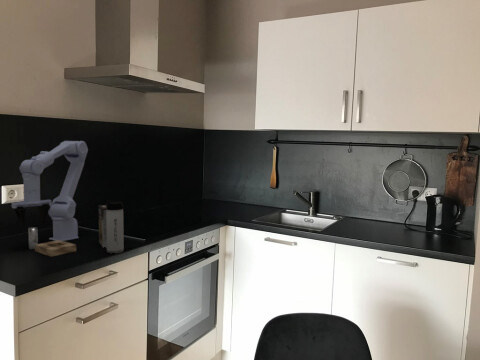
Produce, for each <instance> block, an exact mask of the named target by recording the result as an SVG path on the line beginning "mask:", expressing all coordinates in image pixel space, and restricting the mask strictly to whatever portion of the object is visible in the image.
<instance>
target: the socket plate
mask: <svg viewBox="0 0 480 360" xmlns="http://www.w3.org/2000/svg"><path fill="white" fill-rule="evenodd" d="M34 252H36V253H39V254H42V255H45V256H48V257H51V258H52V257H56V256H61V255H64V254H69V253H75V252H77V244H75V243H71V242H68V241H61V240H57V241H54V240H51V241H48V242H42V243H38V244H36V245H35V249H34Z"/></svg>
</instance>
